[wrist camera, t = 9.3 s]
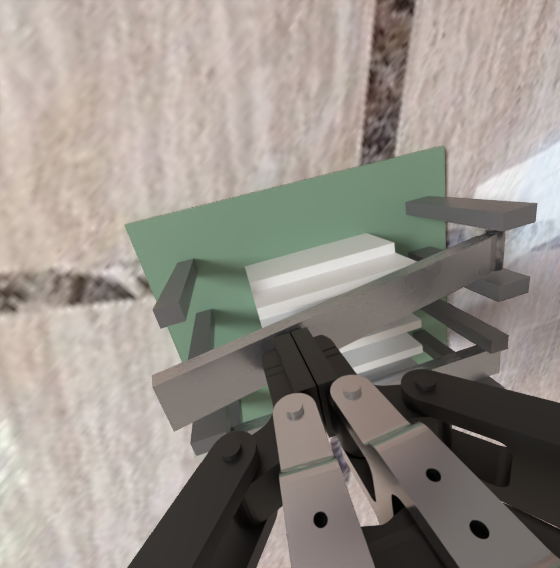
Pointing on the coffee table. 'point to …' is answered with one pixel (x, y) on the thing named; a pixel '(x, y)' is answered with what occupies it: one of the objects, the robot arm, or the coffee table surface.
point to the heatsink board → (287, 234)
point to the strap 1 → (323, 327)
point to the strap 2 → (459, 364)
